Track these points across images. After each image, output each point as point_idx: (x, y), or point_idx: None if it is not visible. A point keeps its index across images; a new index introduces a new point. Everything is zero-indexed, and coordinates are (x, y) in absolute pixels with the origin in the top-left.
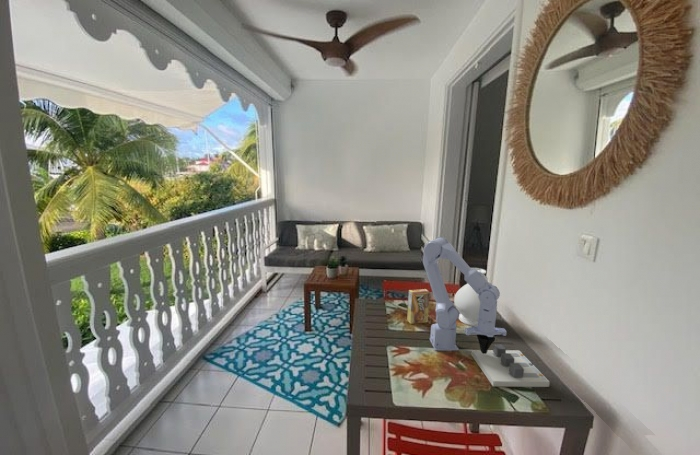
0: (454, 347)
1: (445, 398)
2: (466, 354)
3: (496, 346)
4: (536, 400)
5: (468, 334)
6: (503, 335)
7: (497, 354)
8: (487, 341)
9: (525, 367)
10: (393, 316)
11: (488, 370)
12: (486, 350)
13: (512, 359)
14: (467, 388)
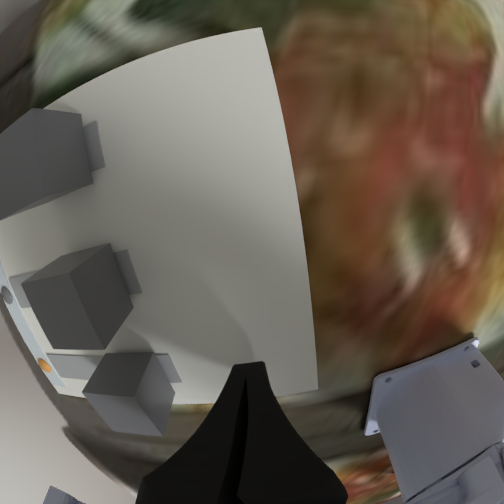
0: (390, 387)
1: (486, 11)
2: (342, 359)
3: (144, 420)
4: (56, 34)
5: (481, 471)
6: (66, 495)
7: (147, 362)
8: (232, 469)
9: (19, 265)
10: None
11: (266, 157)
12: (235, 383)
13: (34, 277)
14: (420, 33)
